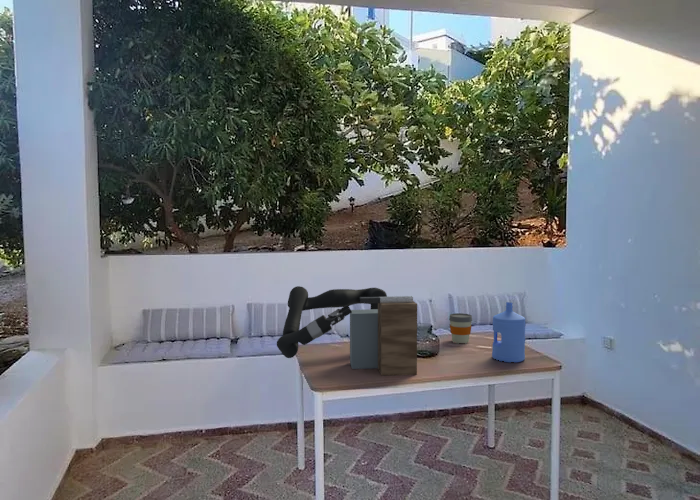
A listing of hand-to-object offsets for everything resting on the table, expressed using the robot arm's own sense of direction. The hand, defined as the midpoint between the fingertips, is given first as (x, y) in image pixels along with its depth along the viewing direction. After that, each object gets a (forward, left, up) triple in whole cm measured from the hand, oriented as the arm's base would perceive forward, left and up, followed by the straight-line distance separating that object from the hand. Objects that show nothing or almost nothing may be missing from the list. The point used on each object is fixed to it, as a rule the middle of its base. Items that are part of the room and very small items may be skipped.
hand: (349, 308), depth 235 cm
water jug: (-15, +81, -30) cm, 87 cm away
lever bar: (0, +17, +2) cm, 17 cm away
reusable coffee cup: (-51, +68, -30) cm, 90 cm away
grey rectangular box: (-11, +12, -30) cm, 34 cm away
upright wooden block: (0, +22, -30) cm, 37 cm away
